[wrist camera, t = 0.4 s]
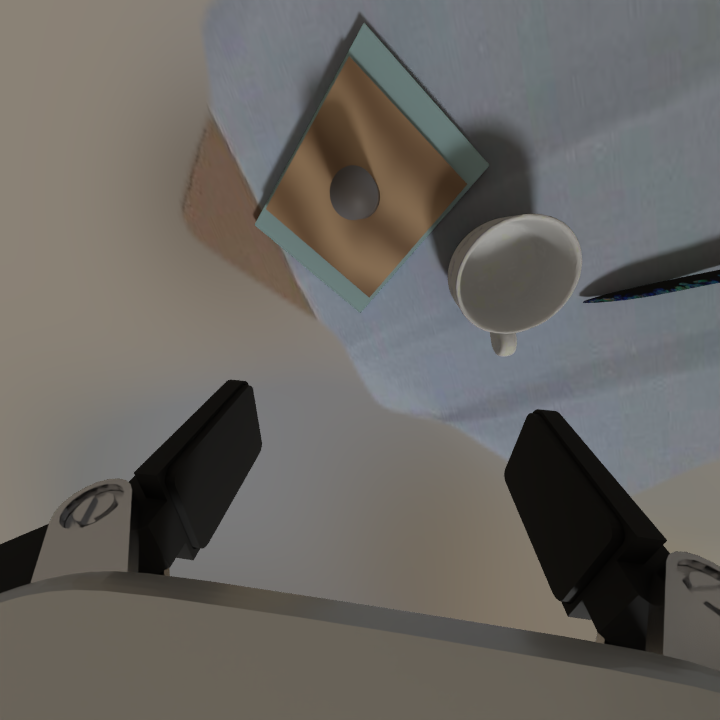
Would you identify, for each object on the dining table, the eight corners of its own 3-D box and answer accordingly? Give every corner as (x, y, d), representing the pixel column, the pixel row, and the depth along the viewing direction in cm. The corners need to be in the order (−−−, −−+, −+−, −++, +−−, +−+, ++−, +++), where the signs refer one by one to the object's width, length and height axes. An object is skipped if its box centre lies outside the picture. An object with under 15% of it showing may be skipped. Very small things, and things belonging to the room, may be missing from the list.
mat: (365, 29, 24) (364, 22, 23) (486, 166, 28) (489, 165, 27) (258, 224, 33) (254, 224, 32) (361, 310, 36) (360, 313, 35)
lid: (350, 60, 24) (335, 11, 19) (465, 185, 28) (484, 177, 22) (268, 209, 31) (238, 208, 25) (369, 295, 34) (364, 313, 28)
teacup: (452, 211, 30) (469, 211, 23) (558, 215, 29) (609, 215, 22) (432, 331, 36) (441, 359, 30) (518, 337, 36) (547, 367, 28)
